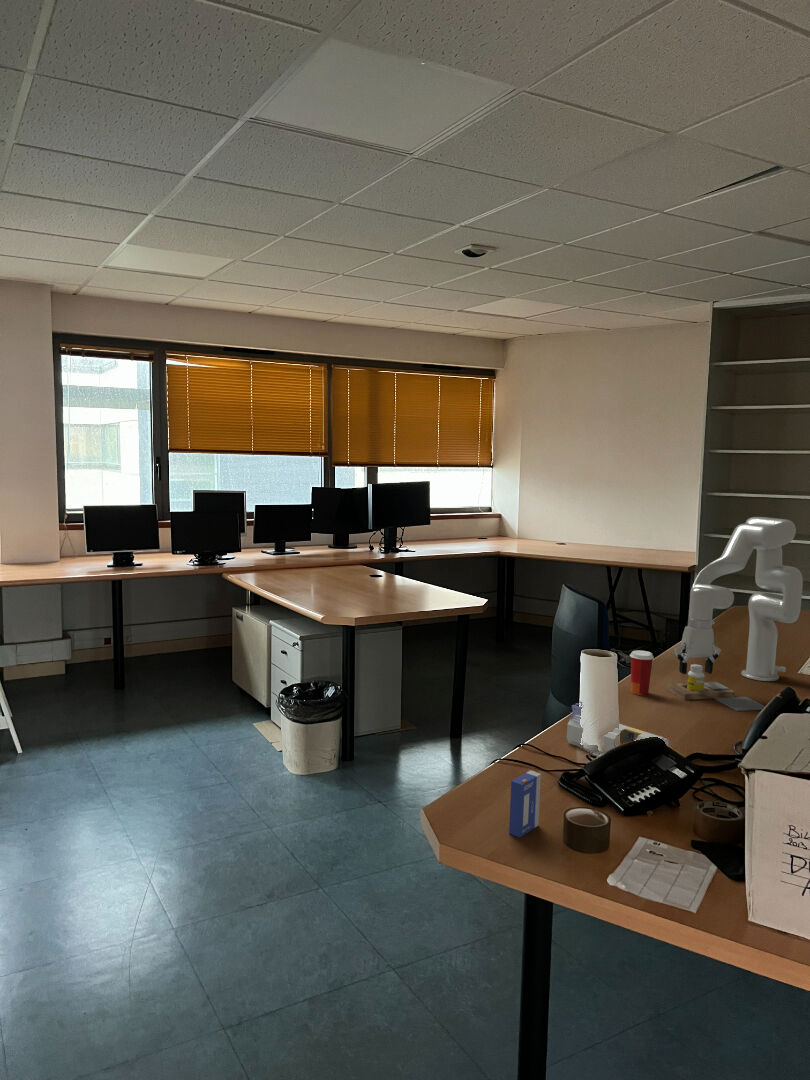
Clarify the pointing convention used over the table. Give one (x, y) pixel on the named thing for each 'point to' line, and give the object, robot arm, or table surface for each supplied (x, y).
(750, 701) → the rubber mat
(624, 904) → the table surface
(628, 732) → the diorama
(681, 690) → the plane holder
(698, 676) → the supplement bottle
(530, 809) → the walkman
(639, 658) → the paper cup
